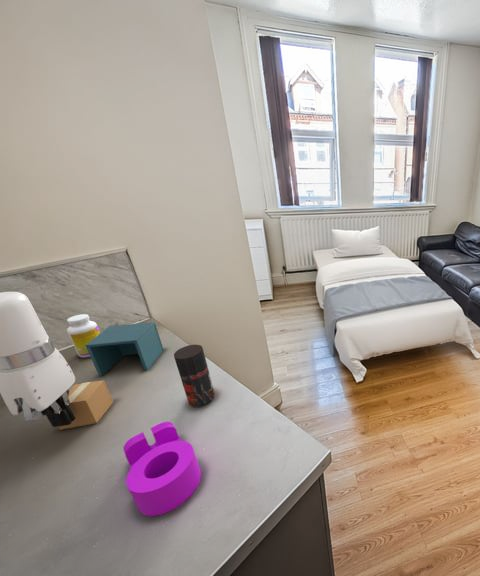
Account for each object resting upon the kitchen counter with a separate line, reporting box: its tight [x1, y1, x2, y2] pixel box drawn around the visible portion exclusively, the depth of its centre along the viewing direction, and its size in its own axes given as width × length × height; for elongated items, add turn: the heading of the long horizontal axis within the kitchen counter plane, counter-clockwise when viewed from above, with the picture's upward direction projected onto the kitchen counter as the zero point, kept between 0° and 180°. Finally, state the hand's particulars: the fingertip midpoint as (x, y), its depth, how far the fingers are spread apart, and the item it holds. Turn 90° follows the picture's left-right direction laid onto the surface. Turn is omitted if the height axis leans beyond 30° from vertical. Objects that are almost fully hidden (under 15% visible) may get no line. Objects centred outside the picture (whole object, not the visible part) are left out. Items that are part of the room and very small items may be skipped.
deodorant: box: [173, 344, 216, 409], centre depth 72 cm, size 6×6×15 cm
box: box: [47, 379, 114, 430], centre depth 68 cm, size 7×7×7 cm
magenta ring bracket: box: [123, 421, 202, 517], centre depth 55 cm, size 16×10×6 cm, turn 48°
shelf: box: [86, 321, 164, 377], centre depth 87 cm, size 11×12×11 cm
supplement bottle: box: [66, 313, 101, 359], centre depth 91 cm, size 7×7×13 cm
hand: (64, 423), depth 63 cm, fingers closed
